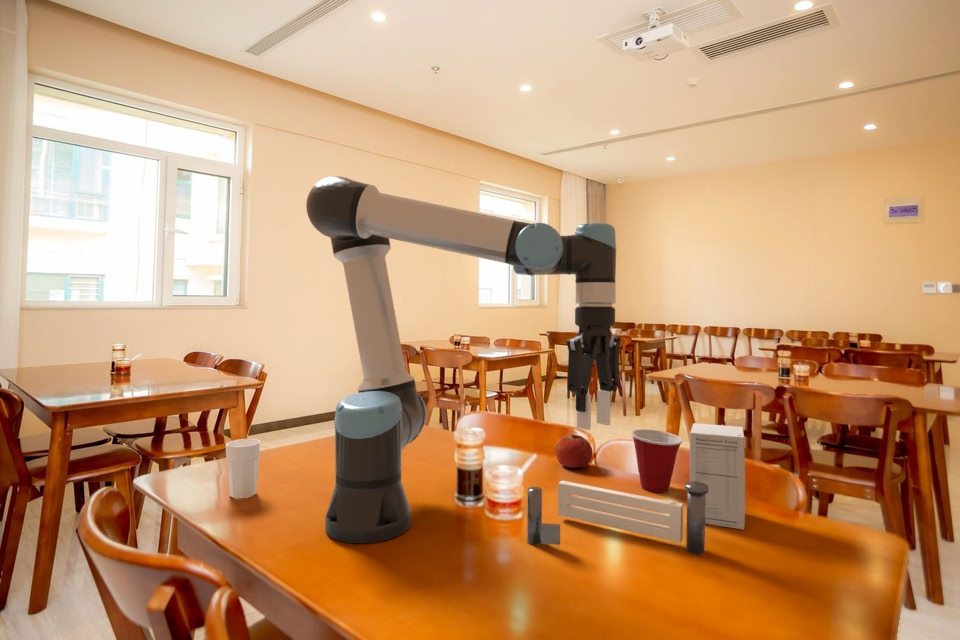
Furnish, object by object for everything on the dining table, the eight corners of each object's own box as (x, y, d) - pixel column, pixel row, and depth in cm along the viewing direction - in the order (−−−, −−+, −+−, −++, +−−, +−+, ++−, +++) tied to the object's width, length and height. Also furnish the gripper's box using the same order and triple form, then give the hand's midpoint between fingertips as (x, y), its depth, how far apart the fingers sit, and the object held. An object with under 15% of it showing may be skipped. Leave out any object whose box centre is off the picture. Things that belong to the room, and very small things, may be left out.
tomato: (554, 460, 138) (555, 429, 138) (591, 462, 137) (591, 431, 137) (554, 471, 129) (555, 438, 129) (593, 473, 128) (594, 440, 128)
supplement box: (744, 513, 104) (745, 426, 103) (745, 531, 95) (747, 437, 95) (691, 505, 108) (692, 421, 107) (687, 521, 99) (689, 431, 99)
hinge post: (687, 555, 86) (688, 488, 86) (681, 545, 90) (682, 481, 89) (710, 556, 86) (711, 489, 85) (703, 546, 89) (704, 481, 89)
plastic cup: (677, 500, 110) (678, 442, 110) (625, 491, 115) (625, 436, 115) (686, 485, 119) (686, 432, 119) (636, 477, 125) (637, 426, 124)
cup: (218, 497, 110) (218, 444, 110) (243, 487, 117) (243, 437, 116) (242, 502, 108) (242, 448, 108) (267, 492, 114) (267, 440, 114)
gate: (557, 514, 100) (558, 483, 100) (561, 511, 101) (562, 480, 101) (680, 543, 88) (680, 507, 88) (682, 539, 90) (683, 503, 89)
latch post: (526, 549, 88) (527, 494, 88) (527, 538, 92) (527, 486, 92) (560, 550, 87) (560, 496, 87) (559, 540, 91) (559, 487, 91)
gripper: (608, 305, 111) (607, 416, 112) (547, 305, 100) (546, 429, 100) (639, 305, 106) (638, 423, 106) (579, 305, 94) (577, 437, 95)
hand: (593, 425), depth 103 cm, fingers open, 5 cm apart
